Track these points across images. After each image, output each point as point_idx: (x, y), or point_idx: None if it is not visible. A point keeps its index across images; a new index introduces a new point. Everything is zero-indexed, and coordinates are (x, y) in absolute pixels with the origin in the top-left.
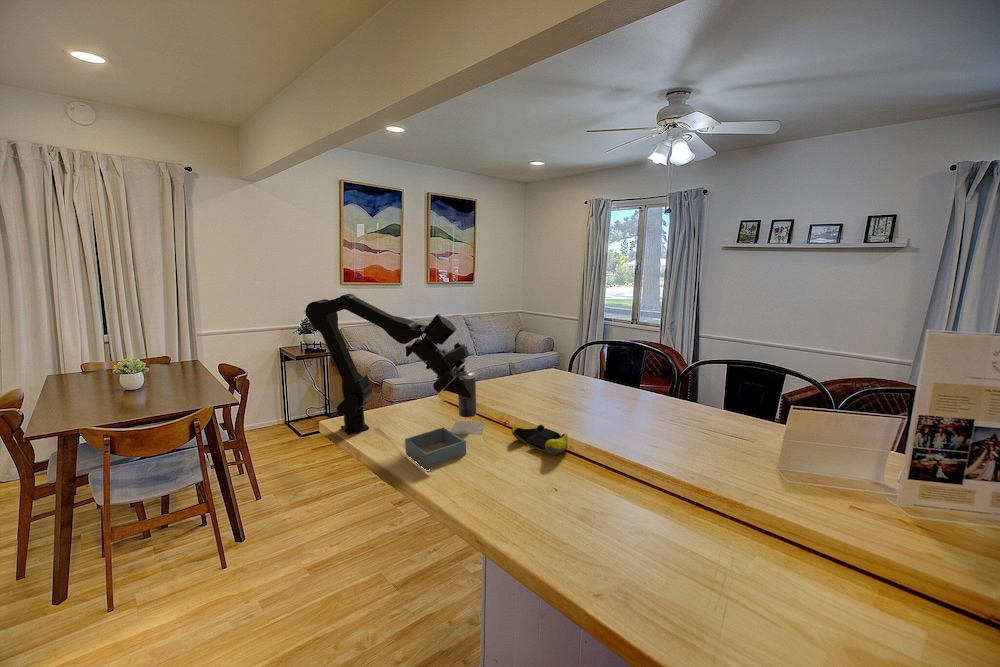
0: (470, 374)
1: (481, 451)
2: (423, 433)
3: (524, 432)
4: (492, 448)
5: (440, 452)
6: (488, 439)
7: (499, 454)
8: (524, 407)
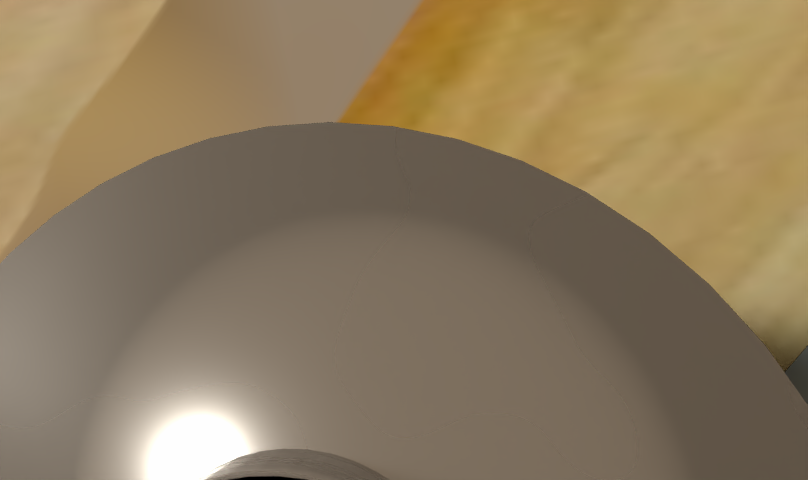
0: (429, 344)
1: (786, 141)
2: None
3: None
4: (718, 81)
5: None
6: (578, 148)
7: (801, 10)
8: (15, 54)
